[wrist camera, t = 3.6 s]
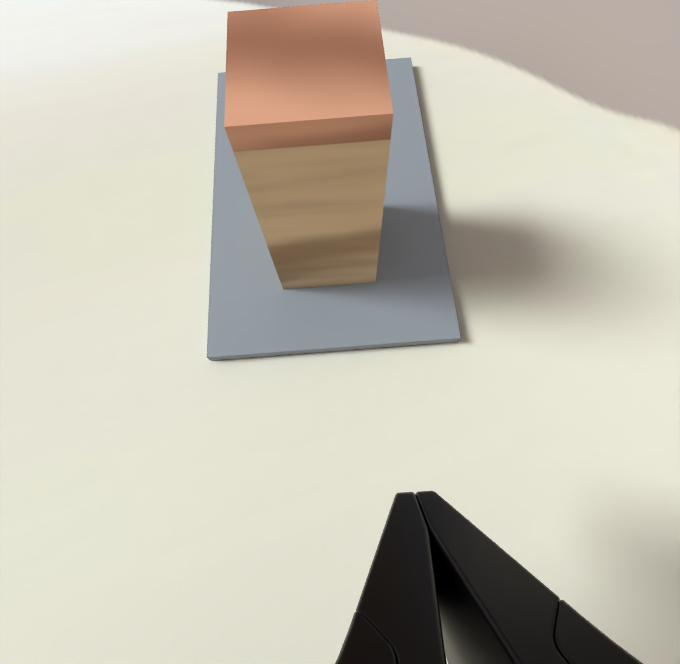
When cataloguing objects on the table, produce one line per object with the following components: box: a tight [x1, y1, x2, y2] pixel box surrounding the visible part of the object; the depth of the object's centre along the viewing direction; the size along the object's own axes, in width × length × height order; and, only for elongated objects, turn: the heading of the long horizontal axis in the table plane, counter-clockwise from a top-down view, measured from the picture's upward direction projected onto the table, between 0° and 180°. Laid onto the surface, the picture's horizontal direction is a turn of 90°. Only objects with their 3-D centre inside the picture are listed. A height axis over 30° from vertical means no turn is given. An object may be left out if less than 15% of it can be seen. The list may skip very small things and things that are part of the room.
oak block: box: [224, 0, 393, 289], centre depth 18 cm, size 5×5×11 cm
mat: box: [207, 58, 461, 360], centre depth 25 cm, size 20×13×1 cm, turn 4°
